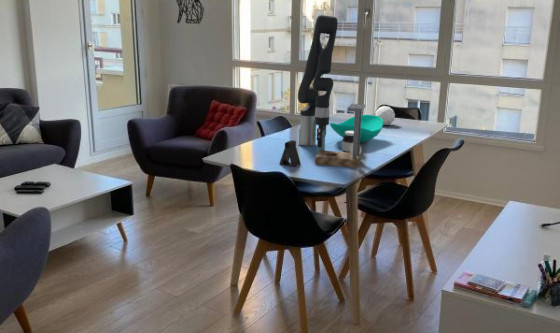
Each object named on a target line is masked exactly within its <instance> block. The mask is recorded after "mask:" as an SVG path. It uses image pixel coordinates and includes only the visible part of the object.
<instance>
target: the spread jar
mask: <svg viewBox="0 0 560 333" xmlns="http://www.w3.org/2000/svg"><path fill="white" fill-rule="evenodd" d="M353 137H354V131H346V132H345V136H344V137H342V141H341V150H342V151H341V152H349V153H353ZM361 146H362V145H360V153H362V147H361Z"/></svg>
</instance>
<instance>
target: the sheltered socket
mask: <svg viewBox="0 0 560 333" xmlns="http://www.w3.org/2000/svg"><path fill="white" fill-rule="evenodd" d="M365 109H366V104H363V103H351V104H350V105H348V107H347V110H346V111H347V112H354V117H355V118H354V137H353V153H349V152H343V151H334V150H325V151H323V150H320V152H319V153H318V154H317V153H316V155H315V156H314V159H315V160H314V165H315V166H316V165H319V166H331V167H342V168H343V167H344V168H355V169H356V168H358V166H359V165H360V162H361V155H362V154H361V153H362V152H361V153H360V146H361V142H360V135H361V116H362V115H363V113H362V112H363V111H364V110H365Z"/></svg>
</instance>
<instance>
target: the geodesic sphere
mask: <svg viewBox="0 0 560 333" xmlns="http://www.w3.org/2000/svg"><path fill="white" fill-rule="evenodd" d="M374 116H379V117H381V118H382V120H383V126H384V125H387V126H389V125H391V124H392V123H393V122H394V121H395V116H396V113H395V111H394V109H393V108H391V107H390V106H388V105H387V106H386V105H382V106H380V107H378V109H377V110H376V111H375V113H374Z"/></svg>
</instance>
